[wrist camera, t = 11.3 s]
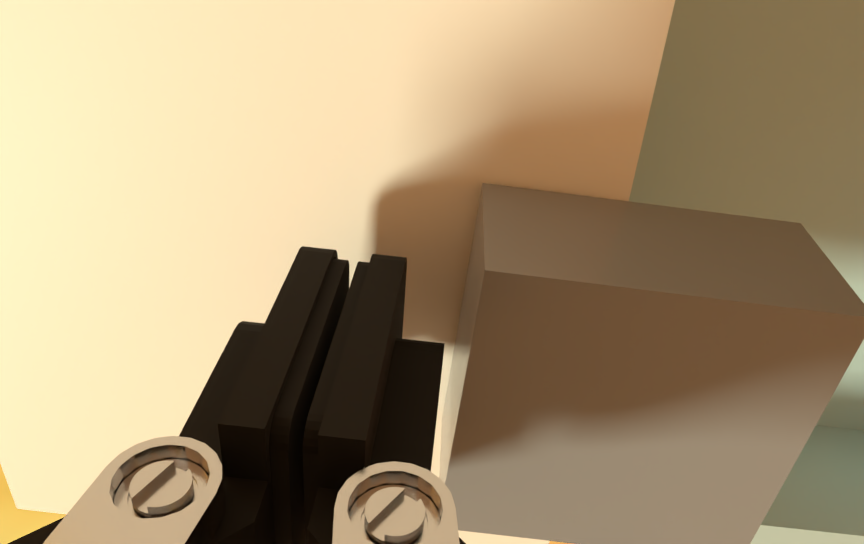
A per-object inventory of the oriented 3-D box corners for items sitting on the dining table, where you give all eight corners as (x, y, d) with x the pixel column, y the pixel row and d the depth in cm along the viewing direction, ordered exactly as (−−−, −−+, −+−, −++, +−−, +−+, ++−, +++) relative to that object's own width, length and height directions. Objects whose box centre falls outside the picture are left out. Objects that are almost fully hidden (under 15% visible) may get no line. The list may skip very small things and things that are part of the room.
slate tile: (482, 182, 11) (484, 269, 9) (800, 223, 11) (875, 318, 9) (441, 418, 14) (436, 528, 12) (699, 449, 14) (739, 562, 12)
